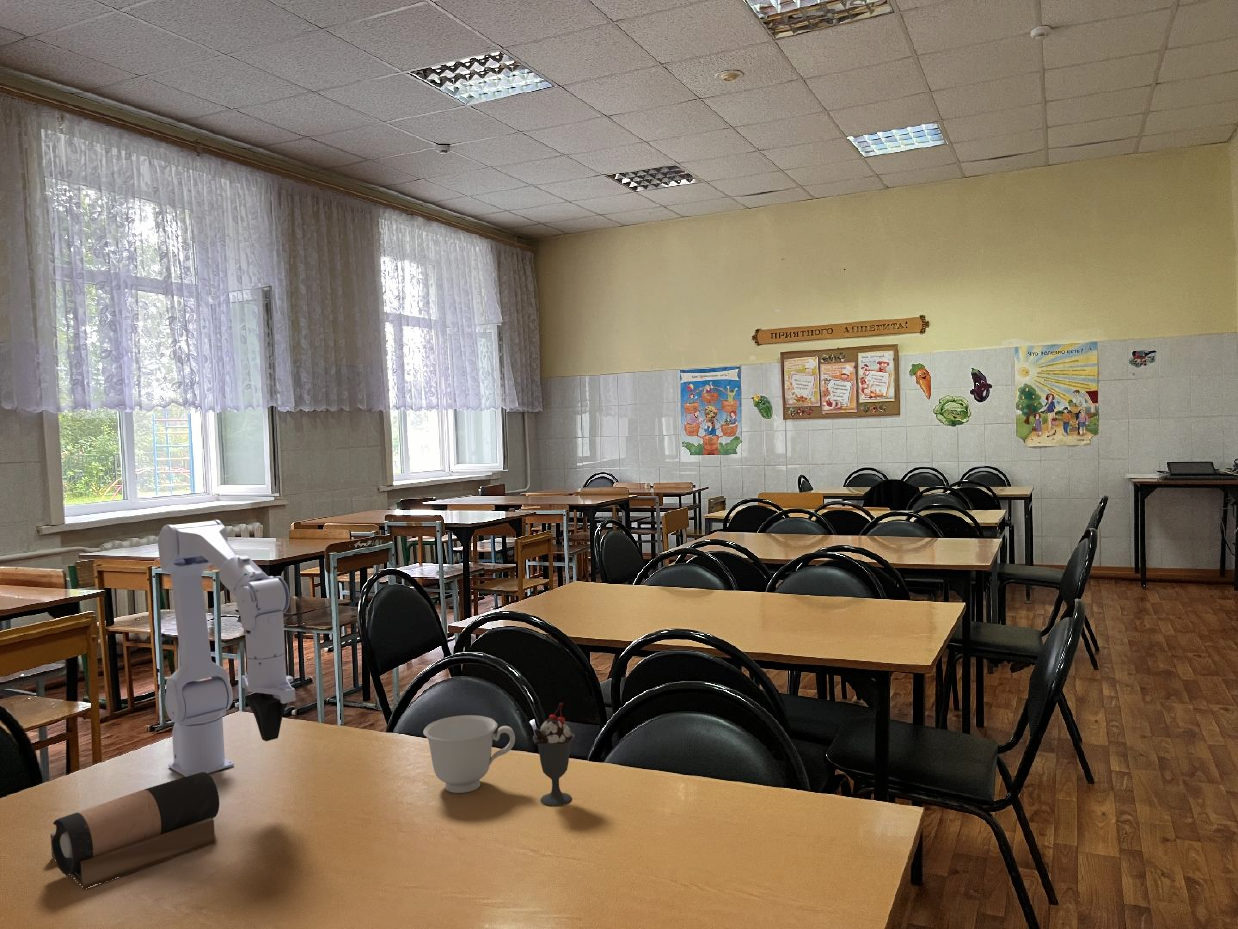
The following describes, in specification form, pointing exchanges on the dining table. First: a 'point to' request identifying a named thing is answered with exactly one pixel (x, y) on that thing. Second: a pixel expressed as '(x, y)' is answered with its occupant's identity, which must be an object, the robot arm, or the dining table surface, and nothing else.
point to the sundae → (554, 755)
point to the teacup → (464, 749)
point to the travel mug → (133, 819)
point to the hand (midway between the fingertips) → (270, 739)
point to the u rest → (144, 853)
